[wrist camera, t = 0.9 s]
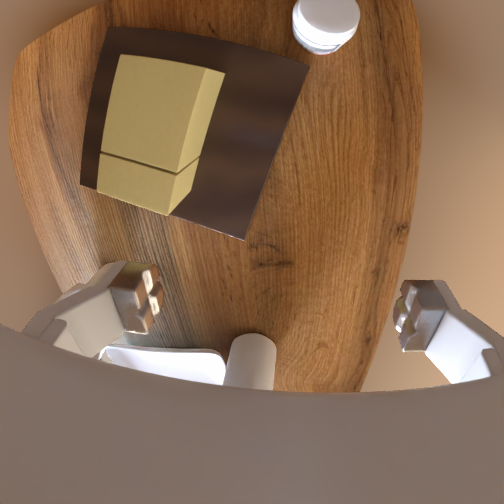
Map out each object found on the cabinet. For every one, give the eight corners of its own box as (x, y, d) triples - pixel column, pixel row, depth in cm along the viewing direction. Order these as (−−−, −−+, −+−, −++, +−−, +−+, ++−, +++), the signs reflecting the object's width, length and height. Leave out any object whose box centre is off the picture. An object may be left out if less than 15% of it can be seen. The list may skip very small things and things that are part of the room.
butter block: (154, 58, 21) (120, 53, 16) (225, 73, 21) (206, 67, 16) (134, 137, 25) (100, 151, 20) (200, 155, 25) (176, 173, 20)
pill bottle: (321, 2, 18) (333, -31, 11) (354, 40, 20) (380, 20, 12) (281, 27, 20) (277, 0, 13) (314, 64, 22) (325, 51, 14)
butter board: (118, 29, 20) (108, 26, 19) (308, 68, 22) (310, 65, 20) (89, 178, 30) (79, 184, 28) (246, 232, 31) (244, 241, 29)
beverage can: (283, 336, 39) (277, 412, 28) (268, 362, 42) (260, 432, 32) (238, 324, 38) (221, 400, 28) (228, 352, 42) (212, 421, 32)
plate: (224, 336, 40) (219, 355, 37) (250, 408, 50) (247, 422, 48) (108, 332, 44) (99, 346, 41) (154, 399, 55) (149, 411, 52)
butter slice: (134, 139, 25) (100, 153, 20) (199, 157, 25) (176, 175, 20) (128, 171, 27) (96, 191, 22) (190, 191, 27) (167, 216, 22)
